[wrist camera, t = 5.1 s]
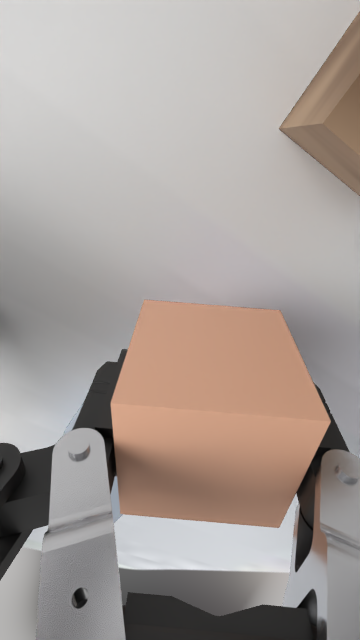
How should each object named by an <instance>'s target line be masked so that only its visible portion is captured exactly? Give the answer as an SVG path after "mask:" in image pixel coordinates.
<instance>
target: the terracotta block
mask: <svg viewBox="0 0 360 640" xmlns="http://www.w3.org/2000/svg"><path fill="white" fill-rule="evenodd" d="M111 414H112V426H113V437H114V448H115V459H116V471H117V482H118V493H119V505H120V514H126V515H138V516H149V517H161V518H172V519H183V520H195V521H206V522H217V523H229V524H240V525H252V526H263V527H274V528H279V527H280V525H281V523H282V521H283V519H284V517H285V515H286V513H287V510H288V508H289V506H290V504H291V502H292V500H293V498H294V496H295V494H296V492H297V490H298V488H299V486H300V484H301V482H302V480H303V478H304V476H305V474H306V472H307V469H308V467H309V465H310V463H311V461H312V459H313V457H314V455H315V453H316V451H317V449H318V447H319V445H320V443H321V441H322V439H323V437H324V435H325V433H326V431H327V428H328V426H329V424H330V422H331V420H330V418H329V416H328V414H327V412H326V409H325V407H324V405H323V403H322V401H321V399H320V396H319V394H318V392H317V390H316V388H315V385H314V383H313V381H312V379H311V377H310V374H309V372H308V370H307V368H306V366H305V363H304V361H303V359H302V357H301V355H300V353H299V350H298V348H297V346H296V344H295V342H294V339H293V337H292V335H291V333H290V331H289V328H288V326H287V324H286V322H285V320H284V318H283V315H282V313H281V311H280V310H270V309H257V308H244V307H231V306H219V305H206V304H193V303H181V302H168V301H155V300H144V302H143V305H142V308H141V311H140V314H139V317H138V320H137V323H136V326H135V329H134V333H133V336H132V339H131V342H130V345H129V348H128V351H127V354H126V357H125V360H124V363H123V366H122V369H121V372H120V375H119V379H118V382H117V385H116V388H115V391H114V394H113V397H112V400H111Z"/></svg>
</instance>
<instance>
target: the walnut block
mask: <svg viewBox="0 0 360 640" xmlns="http://www.w3.org/2000/svg"><path fill="white" fill-rule="evenodd" d="M279 129H280V130H281V131H282V132H283V133H285V134H286V135H287V136H288V137H289V138H291V139H292V140H293V141H294V142H295V143H297V144H298V145H299V146H300V147H301V148H303V149H304V150H305V151H306V152H307V153H309V154H310V155H311V156H312V157H313V158H315V159H316V160H317V161H318V162H319V163H321V164H322V165H323V166H324V167H325V168H327V169H328V170H329V171H330V172H331V173H333V174H334V175H335V176H336V177H337V178H339V179H340V180H341V181H342V182H343V183H345V184H346V185H347V186H348V187H349V188H351V189H352V190H353V191H354V192H355V193H357V194H358V195H359V196H360V12H359V13H358V15H357V16H356V17H355V19H354V20H353V22H352V23H351V25H350V26H349V28H348V29H347V30H346V32H345V33H344V35H343V36H342V38H341V39H340V41H339V42H338V44H337V45H336V46H335V48H334V49H333V51H332V52H331V54H330V55H329V57H328V58H327V59H326V61H325V62H324V64H323V65H322V67H321V68H320V70H319V71H318V73H317V74H316V75H315V77H314V78H313V80H312V81H311V83H310V84H309V86H308V87H307V88H306V90H305V91H304V93H303V94H302V96H301V97H300V99H299V100H298V102H297V103H296V104H295V106H294V107H293V109H292V110H291V112H290V113H289V115H288V116H287V117H286V119H285V120H284V122H283V123H282V125H281V126H280V128H279Z"/></svg>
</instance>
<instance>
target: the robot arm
mask: <svg viewBox="0 0 360 640" xmlns="http://www.w3.org/2000/svg"><path fill="white" fill-rule="evenodd" d="M127 351H128V350H127V349H122V351H121V354H120V357H119V359H118V362H106V363H105V364H104V365H103V366H102V367H101V368H100V369H99V370H97V373H96V375H95V378H94V380H93V383H92V385H91V387H90V389H89V393H88V394H87V396H86V399H85V401H84V403H83V406H82V408H81V410H80V413H79V415H78V418H77V420H76V422H75V425H74V427H73V429H72V430H71V431H70V432H68V433H66V434H65V435H63V436H62V437H61V438H60V439H59V440H58V442H57V443H56V444H55V445H53V446H50V447H47V448H43V449H39V450H34V451H29V452H24V453H20V451H19V450H18V448H17V447H15V446H14V445H12V444H8V443H0V580H1V578H2V577H3V575H4V574H5V572H6V571H7V569H8V568H9V566H10V565H11V563H12V562H13V560H14V558H15V557H16V555H17V554H18V552H19V551H20V549H21V548H22V546H23V544H24V543H25V541H26V540H27V538H28V537H29V535H30V534H31V532H32V531H33V529H36V528H39V527H43V526H47V525H49V526H48V531H47V532H46V533H45V534H44V538H43V543H42V553H41V568H40V569H41V570H40V583H39V584H40V585H39V598H38V615H37V629H36V640H360V458H358V457H357V456H356V455H354V454H352V453H350V452H349V450H348V448H347V446H346V444H345V441H344V439H343V437H342V435H341V433H340V431H339V429H338V427H337V424H336V422H335V420H334V418H333V416H332V414H331V413H330V410H329V407H328V405H327V403H325V399H324V397H323V395H322V393H321V390H320V389H319V388H318V387H317V386H316V385H315V384H314V385H315V388H316V390H317V392H318V394H319V396H320V399H321V401H322V403H323V405H324V407H325V409H326V412H327V414H328V416H329V418H330V420H331V422H330V424H329V426H328V428H327V431H326V433H325V435H324V437H323V439H322V441H321V443H320V445H319V447H318V449H317V451H316V453H315V455H314V457H313V459H312V461H311V463H310V465H309V467H308V469H307V472H306V474H305V476H304V478H303V480H302V482H301V484H300V486H299V488H298V490H297V492H296V493H297V497H298V501H299V503H298V505H297V508H296V512H295V523H294V534H293V545H292V555H291V566H290V575H289V581H288V584H287V588H286V591H285V595H284V601H283V606H282V607H281V606H271V605H260V606H256V607H253V608H249V609H245V610H242V611H238V612H234V613H231V614H227V615H224V616H214V615H212V614H210V613H207V612H205V611H203V610H201V609H199V608H196V607H194V606H192V605H190V604H187V603H185V602H183V601H181V600H179V599H176V598H174V597H172V596H161V595H151V594H140V593H130V592H128V596H127V602H126V605H122V596H121V587H120V578H119V569H118V560H117V551H116V542H115V532H114V523H113V514H112V505H111V496H110V494H111V491H112V487H113V482H114V478H115V476H117V471H116V459H115V448H114V437H113V426H112V414H111V400H112V397H113V394H114V391H115V388H116V385H117V382H118V379H119V375H120V372H121V369H122V366H123V363H124V360H125V357H126V354H127Z"/></svg>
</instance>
